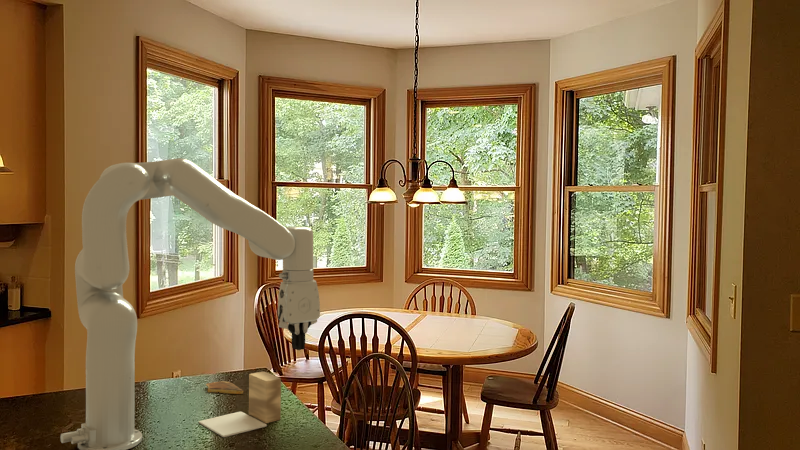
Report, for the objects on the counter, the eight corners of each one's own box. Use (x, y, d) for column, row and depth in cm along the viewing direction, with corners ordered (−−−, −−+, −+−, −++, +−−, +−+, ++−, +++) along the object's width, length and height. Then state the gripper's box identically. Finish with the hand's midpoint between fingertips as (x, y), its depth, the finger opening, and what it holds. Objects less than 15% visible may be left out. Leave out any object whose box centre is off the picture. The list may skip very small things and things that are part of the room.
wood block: (265, 423, 154) (266, 381, 154) (248, 414, 160) (249, 374, 160) (280, 419, 157) (281, 378, 156) (263, 411, 163) (263, 371, 162)
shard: (244, 396, 176) (244, 389, 176) (216, 400, 171) (216, 394, 171) (228, 385, 185) (229, 379, 185) (202, 390, 180) (202, 383, 180)
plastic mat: (223, 437, 145) (223, 435, 145) (198, 422, 153) (198, 421, 153) (266, 426, 152) (266, 424, 152) (240, 412, 161) (240, 411, 161)
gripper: (280, 280, 155) (281, 356, 156) (331, 275, 165) (331, 346, 167) (264, 277, 161) (264, 351, 162) (314, 272, 171) (314, 341, 172)
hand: (298, 348), depth 164 cm, fingers closed
